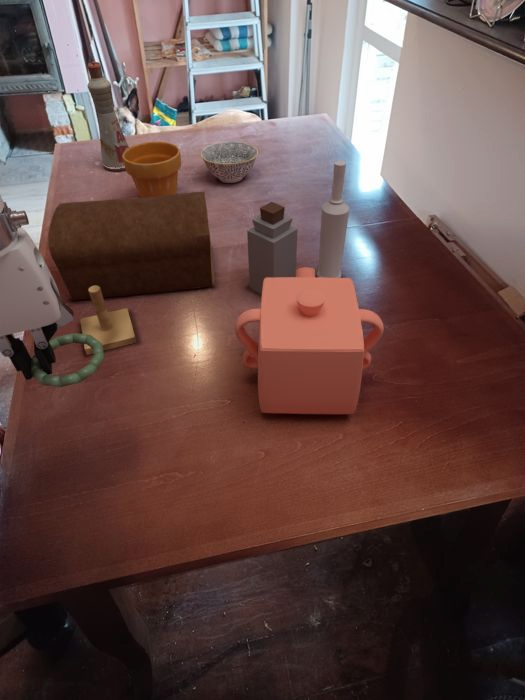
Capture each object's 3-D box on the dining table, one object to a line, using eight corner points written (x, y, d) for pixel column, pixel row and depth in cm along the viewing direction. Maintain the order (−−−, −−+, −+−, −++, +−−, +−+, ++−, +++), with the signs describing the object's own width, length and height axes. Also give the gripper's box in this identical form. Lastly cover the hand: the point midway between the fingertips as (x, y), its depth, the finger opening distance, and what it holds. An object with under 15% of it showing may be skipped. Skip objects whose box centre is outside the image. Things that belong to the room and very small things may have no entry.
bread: (80, 256, 109) (57, 190, 98) (210, 245, 112) (203, 178, 100) (68, 306, 96) (41, 235, 85) (216, 291, 99) (208, 221, 88)
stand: (86, 355, 86) (69, 310, 79) (82, 324, 92) (65, 280, 85) (136, 342, 88) (124, 297, 81) (128, 313, 94) (116, 269, 87)
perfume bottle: (249, 287, 99) (246, 208, 87) (271, 273, 103) (271, 195, 90) (273, 301, 96) (273, 220, 84) (295, 286, 100) (298, 206, 87)
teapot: (244, 317, 93) (239, 236, 80) (361, 318, 92) (374, 237, 79) (234, 421, 75) (227, 337, 62) (379, 423, 74) (401, 339, 61)
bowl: (226, 162, 145) (225, 136, 140) (269, 174, 138) (269, 148, 133) (191, 181, 136) (188, 155, 131) (235, 195, 129) (234, 168, 124)
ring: (32, 396, 54) (29, 389, 53) (32, 348, 60) (29, 341, 59) (108, 377, 56) (105, 370, 55) (101, 332, 61) (98, 325, 61)
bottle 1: (105, 161, 147) (79, 57, 128) (135, 159, 148) (113, 55, 128) (101, 173, 141) (73, 66, 121) (132, 171, 142) (110, 64, 122)
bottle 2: (315, 286, 100) (324, 168, 82) (317, 271, 103) (326, 156, 86) (340, 288, 99) (354, 170, 81) (341, 273, 103) (355, 157, 85)
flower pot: (195, 203, 126) (189, 154, 117) (146, 219, 121) (136, 169, 112) (171, 184, 135) (164, 137, 126) (124, 198, 129) (113, 149, 120)
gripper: (56, 199, 48) (103, 333, 61) (-117, 228, 45) (-29, 364, 58) (58, 236, 43) (109, 374, 56) (-136, 272, 40) (-35, 410, 53)
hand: (39, 368), depth 57 cm, fingers closed on ring, 1 cm apart
